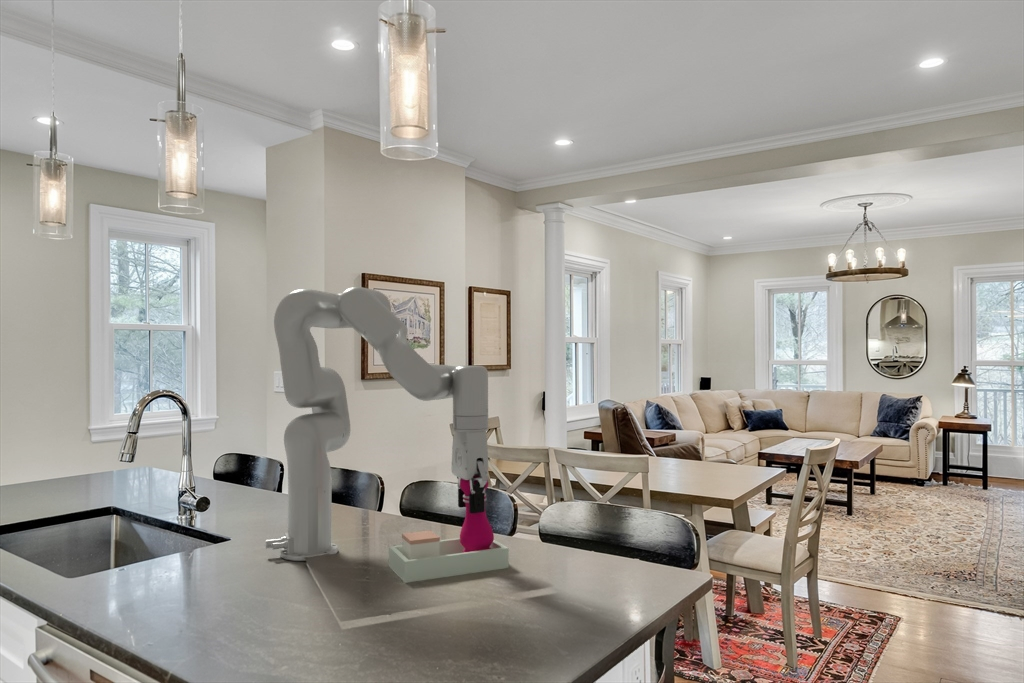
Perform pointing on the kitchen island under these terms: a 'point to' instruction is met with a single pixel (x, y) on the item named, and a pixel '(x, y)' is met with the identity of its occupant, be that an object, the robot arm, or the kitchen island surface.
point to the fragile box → (420, 545)
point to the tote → (448, 561)
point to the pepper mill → (475, 524)
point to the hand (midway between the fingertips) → (471, 508)
